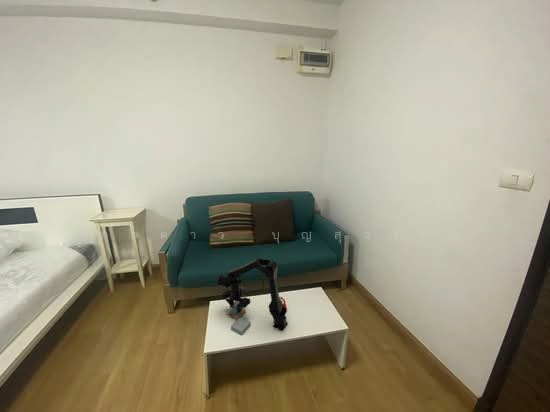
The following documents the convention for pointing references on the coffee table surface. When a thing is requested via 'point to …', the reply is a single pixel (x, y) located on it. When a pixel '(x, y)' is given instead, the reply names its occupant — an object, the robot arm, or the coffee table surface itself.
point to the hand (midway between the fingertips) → (236, 310)
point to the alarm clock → (283, 302)
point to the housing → (234, 308)
